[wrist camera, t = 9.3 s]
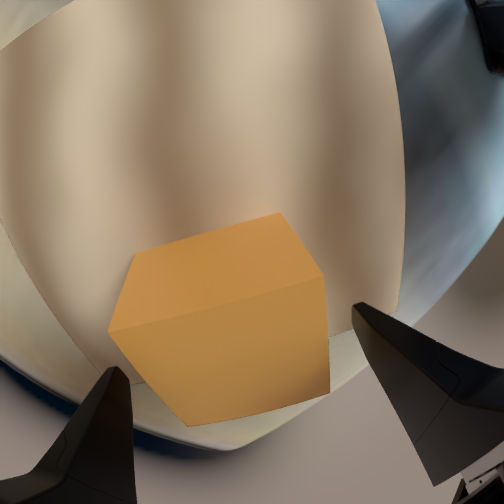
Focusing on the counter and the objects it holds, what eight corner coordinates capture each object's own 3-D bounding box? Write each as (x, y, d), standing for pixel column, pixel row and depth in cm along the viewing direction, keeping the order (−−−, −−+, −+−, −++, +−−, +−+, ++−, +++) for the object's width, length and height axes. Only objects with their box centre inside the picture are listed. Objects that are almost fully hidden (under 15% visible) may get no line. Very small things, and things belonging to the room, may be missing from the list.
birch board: (342, -35, 7) (402, -75, 2) (385, 296, 16) (427, 350, 12) (-18, 83, 6) (-85, 92, 2) (116, 368, 16) (105, 433, 12)
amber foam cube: (280, 211, 11) (323, 275, 7) (299, 321, 14) (330, 392, 10) (135, 253, 11) (107, 332, 7) (186, 350, 14) (187, 426, 10)
